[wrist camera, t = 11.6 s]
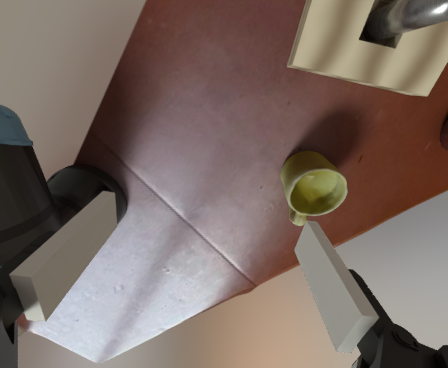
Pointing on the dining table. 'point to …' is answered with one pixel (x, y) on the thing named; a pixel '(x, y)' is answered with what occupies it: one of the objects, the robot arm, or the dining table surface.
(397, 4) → the pin
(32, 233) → the robot arm
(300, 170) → the mug
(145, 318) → the dining table surface
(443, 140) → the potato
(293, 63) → the block
